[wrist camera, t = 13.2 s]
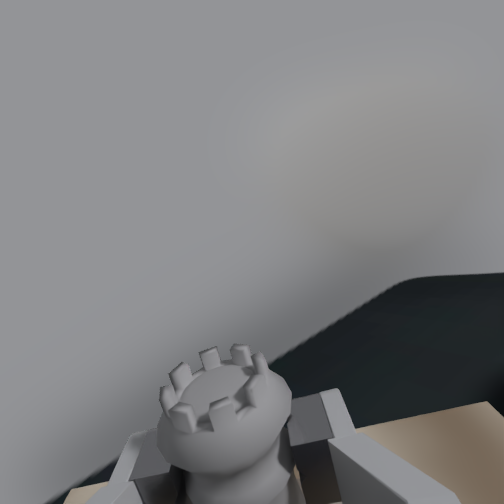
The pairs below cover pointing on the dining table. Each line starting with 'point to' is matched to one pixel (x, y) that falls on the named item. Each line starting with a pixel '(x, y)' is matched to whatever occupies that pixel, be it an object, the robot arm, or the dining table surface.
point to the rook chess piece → (229, 430)
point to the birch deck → (432, 451)
